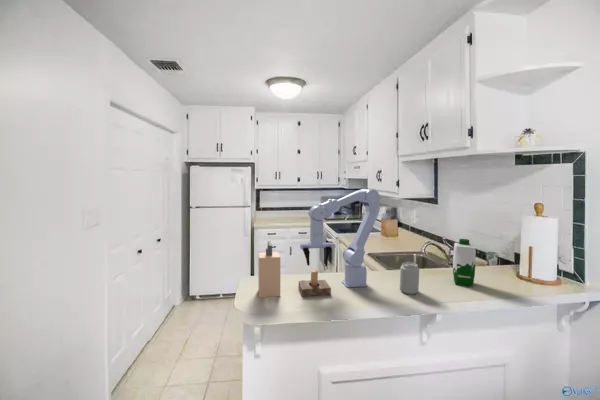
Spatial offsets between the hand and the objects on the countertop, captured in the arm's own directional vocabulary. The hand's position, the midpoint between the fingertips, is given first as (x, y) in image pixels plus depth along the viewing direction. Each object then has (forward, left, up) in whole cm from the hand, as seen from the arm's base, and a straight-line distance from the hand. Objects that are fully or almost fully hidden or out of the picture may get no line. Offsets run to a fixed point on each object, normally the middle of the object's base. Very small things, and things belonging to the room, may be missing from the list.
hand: (316, 264), depth 131 cm
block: (+2, +4, -10) cm, 11 cm away
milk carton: (-68, +4, -11) cm, 69 cm away
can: (-38, +10, -11) cm, 41 cm away
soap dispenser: (+21, +5, -11) cm, 24 cm away
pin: (+2, +4, -10) cm, 11 cm away
